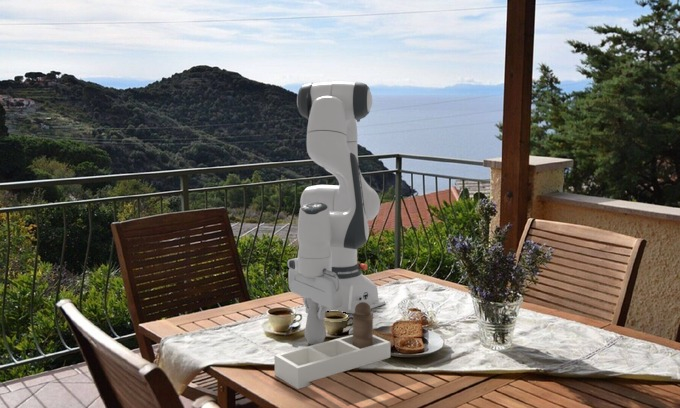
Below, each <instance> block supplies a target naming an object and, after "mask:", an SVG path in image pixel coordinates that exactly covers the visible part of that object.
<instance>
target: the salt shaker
mask: <svg viewBox="0 0 680 408" xmlns="http://www.w3.org/2000/svg"><path fill="white" fill-rule="evenodd" d="M307 303H308V305H309V310H308V314H307V318H306V324H305V328H304V333H303V334H304V337H305V340H306V342H307V344H309V346H311V345H315V344H319V343H323V342H325V338H326V336H327V329H326V324H325V319H322V320H320V319H318V318H317V312H319V309H320V307H319V306H318V303H316V302H313V301H312V299H310V298H307Z"/></svg>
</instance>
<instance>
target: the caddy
mask: <svg viewBox="0 0 680 408" xmlns="http://www.w3.org/2000/svg"><path fill="white" fill-rule="evenodd" d="M391 344H392V343H391V341H388V339H387V340H386V339H384V338H382V337H380V336H377V335H375V334H373V345H372V346H368V347H365V348H361V349H360V348H357V347H355V346H353V334H350V335H346V336H342V337H339V338H334V339H332V340H327V341H323V343H319V344H315V345H307V346H305V347H300V348H297V349H292V350H288V351H285V352H281V353H277V354H274V355H273V356H274V376H276V377H277V378H279V379H281V380H283V381H284V382H286V384H289V385H290V386H292V387H293V388H295V389H297V390H299V389H302V388H303V389H304V388H305V387H306V388H307V387H309V386H310V387H311V386H312V385H314V384H313V383H311V382H313V381H315V380H320V379H323V378H324V379H325V378H327V377H329V376H330V377H331V376H333V375H336V374H339V373H343V372H346V371H350V370H352V369H357V368H360V367H363V366H367V365H369V364H373V363H376V362H380V361H383V360H387V359H389V358H391V348H392V346H391Z"/></svg>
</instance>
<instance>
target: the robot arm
mask: <svg viewBox="0 0 680 408" xmlns="http://www.w3.org/2000/svg"><path fill="white" fill-rule="evenodd" d="M296 105H297V110H298V112H299V114H300V115H301V116H302V117H303V118H305V119H307V120H308V122H307V128H306V129H307V130H306V151H307V154H308V157H309V158H310V159H311V160H312V161H313V163H315V164H316V165H318V166H320V167H321V168H323V169H324V170H325V171H326V172H328V173H330V174H332V175H333V176H334V177H335V178H336V180H337V182H338V185H337V184H335V185H333V184H316V185H310V186H307V187H306V188H305V189H304V190H303V191H302V193H301V195H300V200H299V203H300V208H299V211H298V212H299V213H298V218H297V225H296V227H297V242H298V251H297V257H295V258H291V259H288V260H287V267H288V268H289V269H288V276H287V277H288V278H287V279H288V280H287V281H288V289H289V290H290V292H291V293H293V294H296V295H297V296H300V297H302V301H303V304H304V307H305V313H306V314H307V315H308V310H309V305H308V303H307V298H310V299H312V301H313V302H316V303H318V306H319V307H320V309H319V312H317V318H318V319H320V320H322V319H324V320H325V318H326V312H327V311H330V310H338V311H343V312H346V313H345V314H352V315H353V313H354V312H355V308H356V306H357V304H359V303H361V302H365V303H367V304H369V306H370V308H371V310H372V309H376V308H377V307H379V306H384V305H386V300H385V299H384V298H383V297H381V296H379V290H378V287H377V284H376V283H375V282H373V281H372V280H371V279H369V278H368V277H367V276H365V275H364V274H363V273H362V271H367V270H368V265H367V263H360V262H358V249H359V248H361V247H362V246H364V245H365V244H366V243H367V241H369V240H368V239H369V234H370V227H369V226H370V225H369V222H368V221H372V220H374V219H375V218H376V217H377V216H378V214H379V211H380V209H381V208H380V207H381V199H380V196H379V194H378V193H377V192H376V190H375V189H374V188H373V187H371V186H370V185H369V183H367V181H366V180H365V178H364V177H363V175H362V172H361V170H360V166H359V156H358V154H359V153H358V152H359V151H358V128H357V127H358V126H357V123H359V122H360V121H361V120H362V119H365V118H366V117H367V116H368V115H369V114H370V111H371V108H372V106H373V96H372V92H371V91H370V87H369V85H367V84H366V83H364V82H359V81H356V82H352V81H351V82H350V81H339V80H338V81H336V80H334V81H326V82H317V83H314V82H310V83H309V82H308V83H305V84H303V85H302V86H300V88H299V89H298V92H297V96H296ZM361 270H362V271H361Z"/></svg>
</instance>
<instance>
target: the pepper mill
mask: <svg viewBox="0 0 680 408" xmlns="http://www.w3.org/2000/svg"><path fill="white" fill-rule="evenodd" d="M373 325H374V314H373V312H372V309H371V308H370V306H369V304H367V303H365V302H361V303H359V304H357V306H356V308H355V312H354V313H353V314H352V335H353V346H355V347H357V348H360V349H361V348H365V347H368V346H372V345H373V335H374V334H373V332H374V331H373V329H374V326H373Z"/></svg>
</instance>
